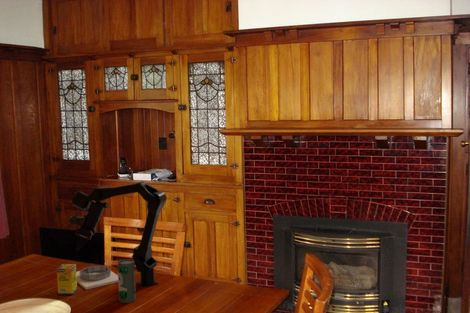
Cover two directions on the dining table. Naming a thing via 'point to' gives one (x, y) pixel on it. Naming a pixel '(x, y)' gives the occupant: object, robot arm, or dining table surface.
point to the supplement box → (67, 279)
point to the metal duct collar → (95, 277)
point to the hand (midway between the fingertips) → (78, 249)
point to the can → (126, 281)
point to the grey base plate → (93, 284)
